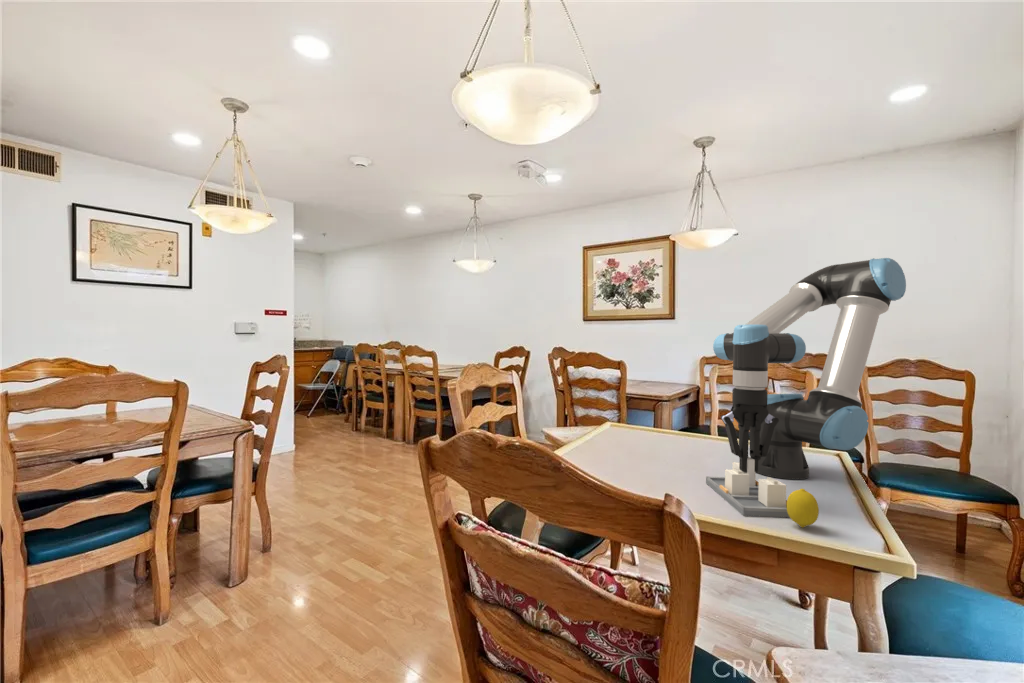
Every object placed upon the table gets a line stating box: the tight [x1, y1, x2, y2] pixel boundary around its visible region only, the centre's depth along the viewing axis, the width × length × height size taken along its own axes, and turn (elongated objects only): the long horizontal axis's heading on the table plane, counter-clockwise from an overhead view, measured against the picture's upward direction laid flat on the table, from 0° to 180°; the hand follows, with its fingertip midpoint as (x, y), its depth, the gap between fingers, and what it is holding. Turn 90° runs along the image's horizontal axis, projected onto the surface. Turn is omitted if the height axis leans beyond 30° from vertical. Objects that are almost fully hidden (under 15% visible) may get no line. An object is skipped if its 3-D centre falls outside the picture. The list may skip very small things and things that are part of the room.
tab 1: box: [731, 461, 757, 486], centre depth 113 cm, size 4×4×6 cm
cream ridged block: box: [724, 467, 749, 496], centre depth 107 cm, size 4×4×6 cm
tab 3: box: [758, 476, 787, 508], centre depth 99 cm, size 4×4×6 cm
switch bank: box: [705, 476, 791, 519], centre depth 106 cm, size 11×22×2 cm, turn 176°
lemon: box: [786, 488, 820, 528], centre depth 90 cm, size 6×6×8 cm
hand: (748, 484), depth 106 cm, fingers closed
